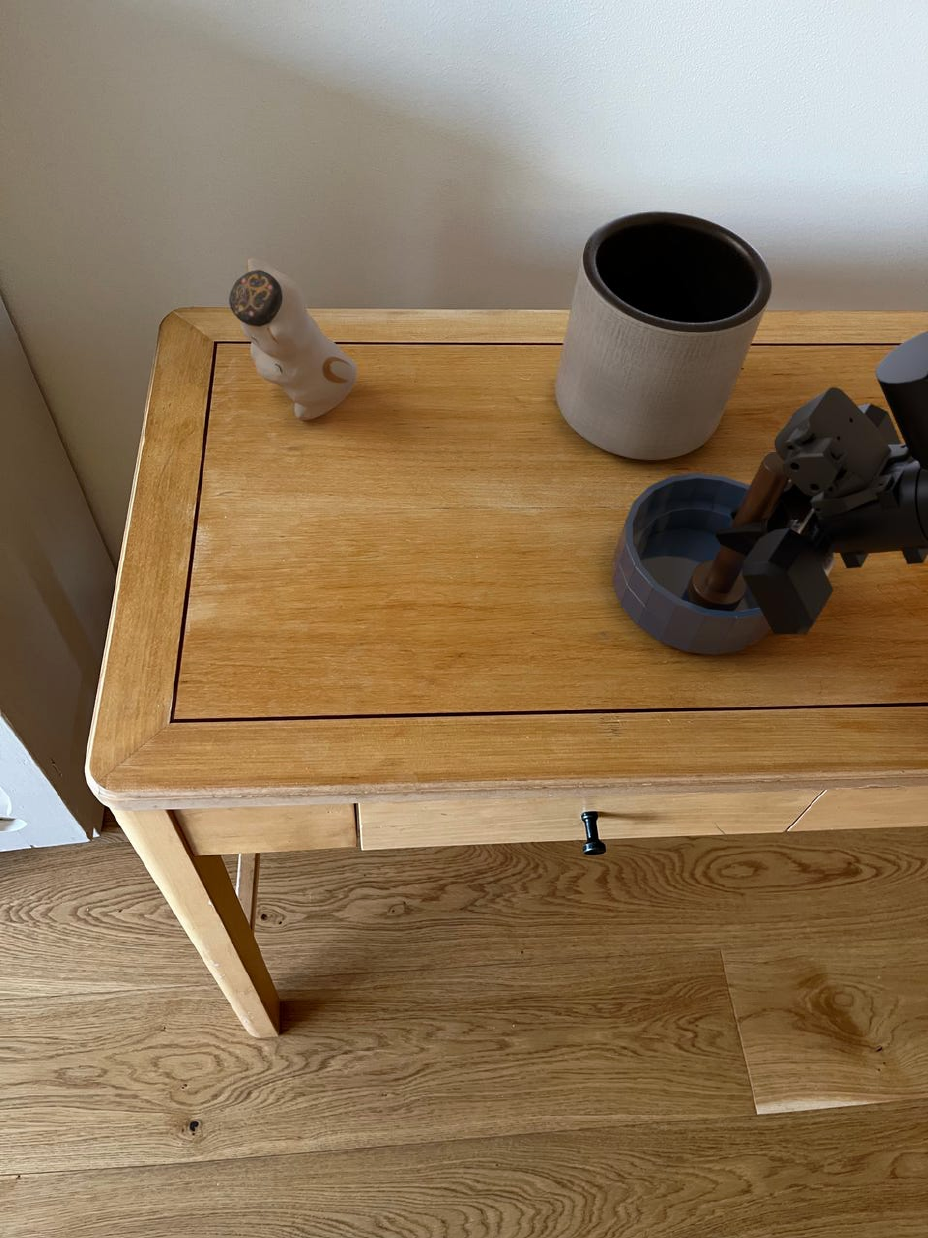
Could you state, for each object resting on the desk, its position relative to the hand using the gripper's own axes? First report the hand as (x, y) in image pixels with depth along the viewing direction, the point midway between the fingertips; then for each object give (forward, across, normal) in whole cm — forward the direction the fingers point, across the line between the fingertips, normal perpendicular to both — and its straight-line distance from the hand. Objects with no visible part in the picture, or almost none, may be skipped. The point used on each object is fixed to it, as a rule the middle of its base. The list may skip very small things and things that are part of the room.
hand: (725, 527), depth 70 cm
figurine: (+34, +4, -22) cm, 40 cm away
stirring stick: (+4, 0, +6) cm, 8 cm away
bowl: (+7, -1, +6) cm, 9 cm away
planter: (+17, -16, -4) cm, 24 cm away
